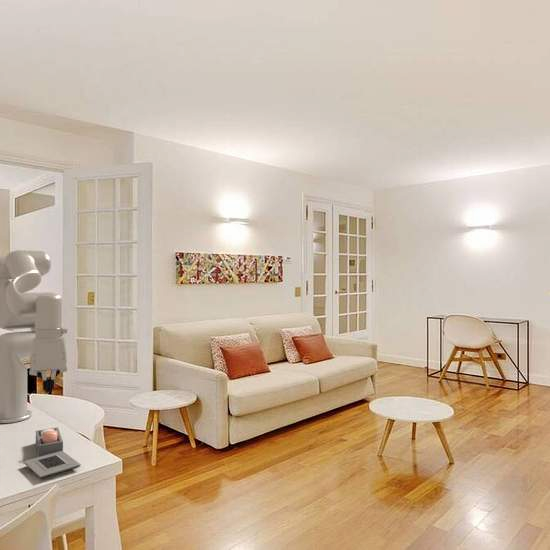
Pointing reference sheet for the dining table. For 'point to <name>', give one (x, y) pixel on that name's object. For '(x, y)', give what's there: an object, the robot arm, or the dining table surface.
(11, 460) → the dining table surface
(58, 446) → the button console
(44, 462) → the electrical outlet
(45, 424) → the dining table surface
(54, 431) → the pink button
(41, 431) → the white button
